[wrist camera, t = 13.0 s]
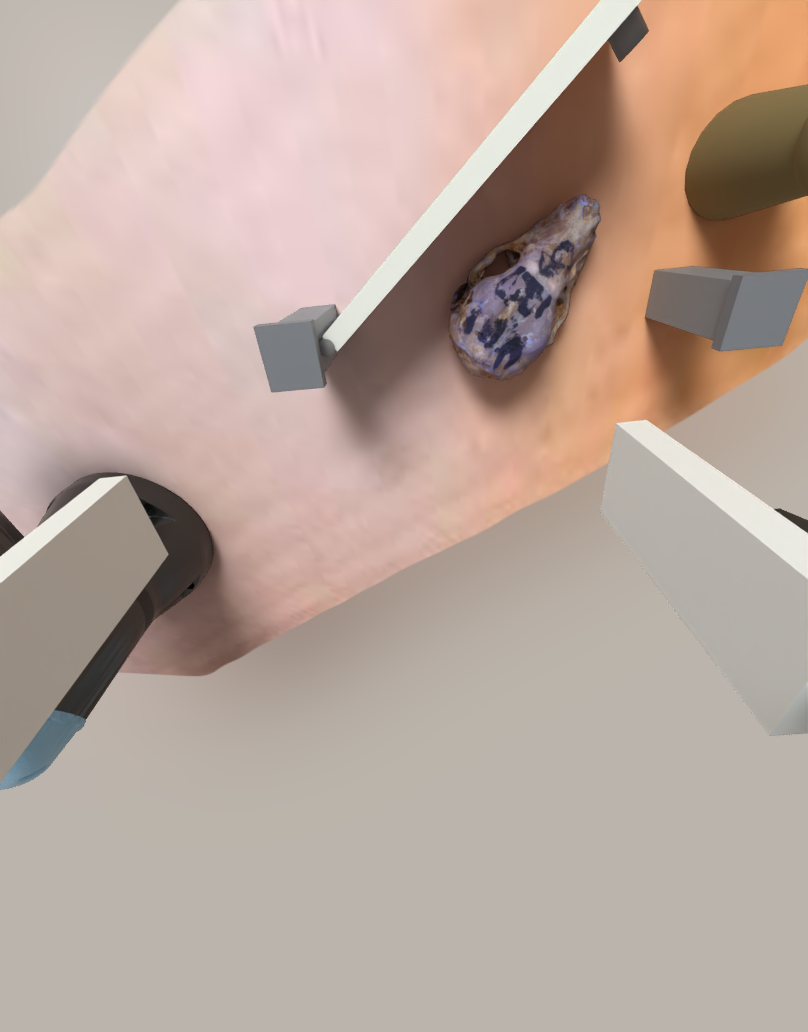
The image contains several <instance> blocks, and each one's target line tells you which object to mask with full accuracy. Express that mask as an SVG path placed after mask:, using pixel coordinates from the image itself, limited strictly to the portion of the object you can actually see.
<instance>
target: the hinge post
mask: <svg viewBox="0 0 808 1032" xmlns="http://www.w3.org/2000/svg"><path fill="white" fill-rule="evenodd" d="M336 319H337V313H336V307H335V304H333V305H324V306H314V307H305V308H301V309H299V310H298V311H296V312H294V313H293V314H291V315H289V316H288V317H286V318H284V319H283V320H281V321H279V322H278V323H269V324H259V325H256V326H255V327H254V331H255V334H256V338H257V342H258V345H259V349H260V353H261V356H262V360H263V364H264V367H265V371H266V375H267V378H268V382H269V385H270V389H271V392H282V391H293V390H304V389H315V388H324V387H325V386H326V384H327V383H326V378H325V371H326V370H327V368H328V367H329V365H330V364H331V362H332V361H333V360H334V358H335V357H336V355H337V354H338V352H339V351H340V349H341V348H342V347H341V348H340V349H339V350H338V352H337V351H335V352H334V353H333V355H332V356H330V357H324V356H322V355H321V353H320V348H319V342H320V341H321V340H322V339H323V337H322V336H323V335H324V334H325V332H326V331H327V330H328V329H329V328H330V326H331V325H332V324H333V323H334V322H335V320H336Z"/></svg>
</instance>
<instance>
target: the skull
mask: <svg viewBox="0 0 808 1032" xmlns="http://www.w3.org/2000/svg"><path fill="white" fill-rule="evenodd" d="M599 209H600V207H599V203H598V201H597V200H595V199H590V198H589V197H587V196H586V195H580V196H578V197H574V198H572V199H570V200H569V201H568V202H566V203H565V204H560V205H559V206H558V207H557V208H556V209H555V210H554V211H553V213H551V214H550V215H549V216H548V217H546V218H544V219H543V220H541V221H539V222H537V223H536V224H534V225H533V227H532V228H531V229H530V230H529V231H528V232H526V233H525V234H522V235H521V236H520V237H519V238H518V239H517V240H515V241H512V242H508V243H504V244H502V245H500V246H497V247H495V248H494V249H492V250H491V251H490V252H489V253H488V254H487V255H486V256H485V257H484V258H483V259H482V260H481V261H480V262H479V263H478V264H477V265H476V266H475V267H473V269H472V270H471V272H470V274H469V276H468V278H467V283H465V284H464V285H462V286H460V288H459V289H458V290H457V291H456V292H455V294H454V298H453V301H452V304H451V306H450V309H451V311H452V314H451V316H450V319H449V324H448V332H449V337H450V339H452V340H453V342H454V348H455V350H456V351H457V353H458V355H459V357H460V359H461V361H462V363H463V365H464V366H465V368H466V369H467V370H468V371H469V372H470V373H471V374H473V375H475V376H479V377H489V378H493V379H498V380H501V381H502V380H510V379H512V378H514V377H515V376H517V375H519V374H520V373H522V372H523V371H524V370H525V369H526V367H527V366H528V365H530V364H531V363H532V362H533V361H535V360H536V359H537V358H538V357H539V355H540V354H541V353H542V352H543V351H544V349H545V348H546V347H548V346H550V345H552V344H553V343H554V338H555V335H556V332H557V331H558V329H559V328H560V326H561V325H562V323H563V322H564V321H565V319H566V317H567V315H568V312H569V306H570V293H571V289H572V286H573V285H575V283H576V279H577V276H578V274H579V272H580V270H581V269H582V267H583V265H584V262H585V259H586V257H587V254H588V251H589V249H590V247H591V245H592V244H593V242H594V239H595V237H596V235H595V230H596V228H597V226H598V224H599V222H600V220H601V216H600V213H599ZM503 252H504V253H505V255H506V256H507V257H508V261H509V265H510V269H508V270H507V271H506V272H504V273H503V274H500V275H496V276H489V277H486V278H483V275H484V273H485V270H486V267H489V266H490V265H491V264H492V263H493V262H494V260H495V257H496V256H497V255H499V254H501V253H503Z"/></svg>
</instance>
